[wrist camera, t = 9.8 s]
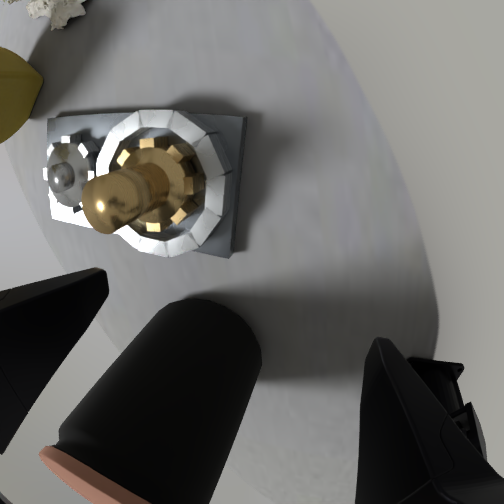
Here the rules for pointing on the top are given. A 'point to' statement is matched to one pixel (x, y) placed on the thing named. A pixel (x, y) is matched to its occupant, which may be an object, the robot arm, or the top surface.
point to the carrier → (204, 161)
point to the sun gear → (70, 170)
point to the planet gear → (144, 188)
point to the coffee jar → (162, 411)
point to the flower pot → (16, 92)
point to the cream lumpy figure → (55, 10)
